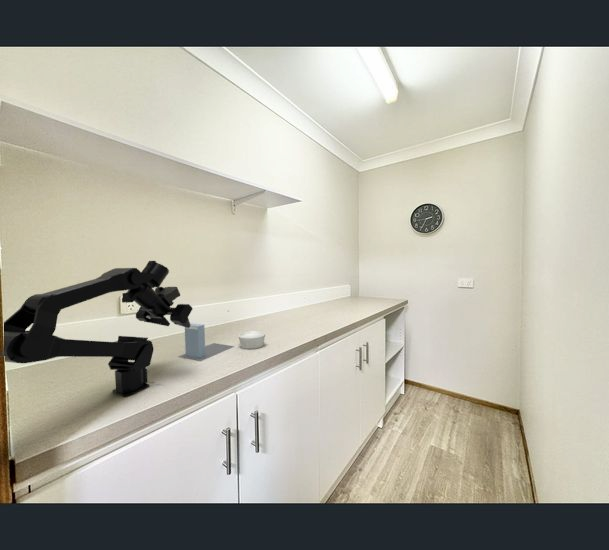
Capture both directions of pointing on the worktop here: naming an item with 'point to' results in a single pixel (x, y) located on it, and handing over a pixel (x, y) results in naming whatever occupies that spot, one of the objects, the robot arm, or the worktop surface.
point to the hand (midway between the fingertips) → (179, 325)
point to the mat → (210, 351)
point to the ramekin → (251, 339)
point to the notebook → (195, 341)
